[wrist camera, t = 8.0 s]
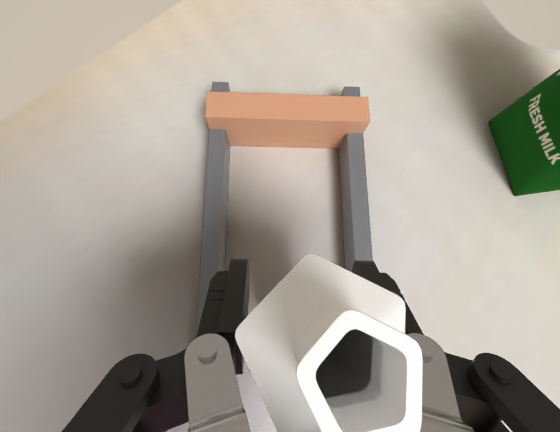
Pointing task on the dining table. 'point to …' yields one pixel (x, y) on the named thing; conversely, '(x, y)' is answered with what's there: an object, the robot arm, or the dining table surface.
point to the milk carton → (531, 138)
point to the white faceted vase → (333, 353)
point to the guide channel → (284, 133)
